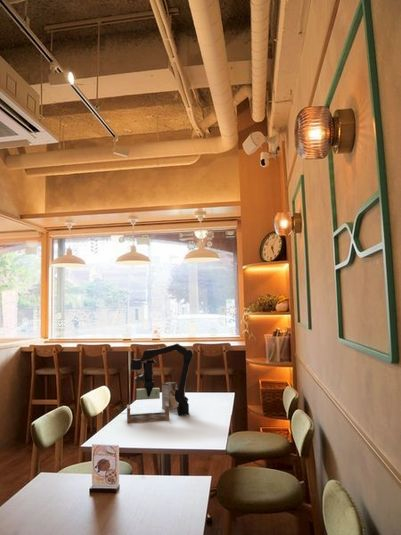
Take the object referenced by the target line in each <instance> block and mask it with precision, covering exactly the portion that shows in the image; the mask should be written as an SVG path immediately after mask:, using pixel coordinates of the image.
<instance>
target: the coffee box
mask: <svg viewBox="0 0 401 535" xmlns="http://www.w3.org/2000/svg"><path fill="white" fill-rule="evenodd" d="M176 388H179V384H178V381H177V382H176V381H175V382H174V381H169V382H163V383H161V405H162V407H161V408H162V410H165V403H168V405H169V411H170V410H172V409H175V408H176V409H177V406H178V402H177V401H176V400H175V396H174V395H175V389H176Z"/></svg>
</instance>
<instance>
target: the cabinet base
mask: <svg viewBox="0 0 401 535" xmlns="http://www.w3.org/2000/svg"><path fill="white" fill-rule="evenodd" d="M126 419H127V420H126V422H127V424H134V423H135V424H136V423H145V422H146V423H149V422H151V423H152V422H164V421H170V410H169V405H168V403H165V409H164V411H162V412H147V413H146V412H145V413H143V412H142V413H131V405H130V404H127V405H126Z"/></svg>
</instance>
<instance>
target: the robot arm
mask: <svg viewBox="0 0 401 535" xmlns="http://www.w3.org/2000/svg"><path fill="white" fill-rule="evenodd" d="M175 351H176V352H178V353H179V354H181V355H182V356H183V365H182V370H181V373H180V374H181V376H180V380H179V384H178V388H176V389H175V395H174V396H175V400H176V401H177V402H178V406H177V407H176V413H177V415H178V416H181V417H182V416H190V407H189V406H190V403H188V402H189V398H188V397H187V396H186V383H187V379H188V373H189V368H190V364H191V361H192V359H193V357H194V351H193V349H191V348H186V347H184V346H182V345H181V344H180V343H174V344H171V345H167V346H163V347H160V348H151V349H146V350H144V351H143V353H142V357H141V358H140V359H135V358H134V359H131V364H130V370H131V371H136V372H137V371H142V369H143V372H142V374H140V375H137V376H135V377H134V382H135V384H139V383H140V382H142V384H143V388H144V389H146V391H147V396H148V397H149V396H150V394H151V391H152V389H153V388H154V387H155V381H154V369H153V368H154V367H153V366H154V364H156V363H157V361H156V360H155V357H157V356H159V355H164V354H168V353H171V352H175Z"/></svg>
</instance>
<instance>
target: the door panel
mask: <svg viewBox="0 0 401 535" xmlns="http://www.w3.org/2000/svg"><path fill="white" fill-rule="evenodd" d="M160 393H161V391H160V387H153V389H152V391H151V394H150V396H149V397H148V396H147V391H146V388H136V400H137V401H139V400H140V401H141V400H142V401H143V400H158V399H161V396H160Z"/></svg>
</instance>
